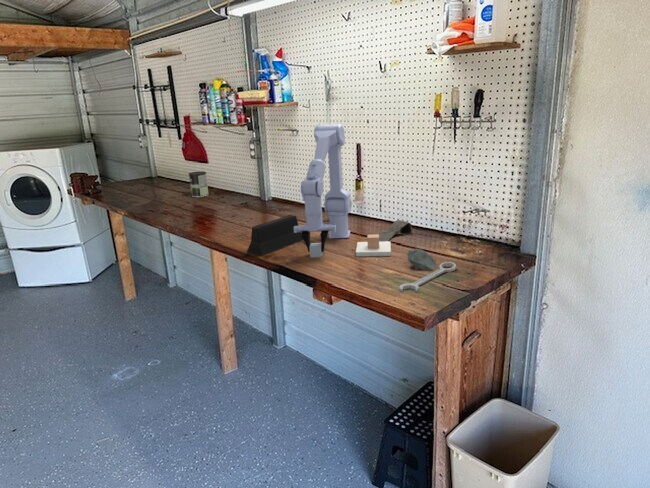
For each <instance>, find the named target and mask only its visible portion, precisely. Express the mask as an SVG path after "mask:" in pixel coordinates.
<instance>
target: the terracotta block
mask: <svg viewBox="0 0 650 488" xmlns="http://www.w3.org/2000/svg"><path fill="white" fill-rule="evenodd" d="M366 239H367V240H366V242H367V243H368V249H379V233H375V234H367V237H366Z"/></svg>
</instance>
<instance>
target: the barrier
mask: <svg viewBox="0 0 650 488" xmlns="http://www.w3.org/2000/svg"><path fill="white" fill-rule="evenodd" d="M294 226H300V225H299V222H298V218H297V216H296V215H292V214H288V215H285V216H282V217H279V218H276V219H272V220H270V221H267V222H263V223H260V224H257V225H254V226H252V227H251V235H250V236H251V237H250V238H251V239H250V244H249V246H248V247H247V250H246V253H247V254H251V255H256V256H259V257H263V256H266V255H269V254H271V253H273V252H276V251H279V250H281V249H285V248H286V247H290V246H292V245H294V244H298V243H300V242H304V240H303V238H302V236H301V232H297V233H294Z"/></svg>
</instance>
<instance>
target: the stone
mask: <svg viewBox="0 0 650 488" xmlns="http://www.w3.org/2000/svg"><path fill="white" fill-rule="evenodd" d="M407 260H408V262H409V263H410V264H411V265H412V266H413V267H414V268H415V269H416V270H423V271H425V270H426V271H436V269H437V263H436V261H435V259H434V258H433V257H432V256H431V255H430V254H428V253H427V252H426V251H424V250H423V249H419V248H414V249H411V250H408V253H407Z"/></svg>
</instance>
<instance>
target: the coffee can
mask: <svg viewBox="0 0 650 488" xmlns="http://www.w3.org/2000/svg"><path fill="white" fill-rule="evenodd" d="M188 178H189V185H190V191H191V192H190V193H191V197H192V198H203V197H204V196H205V197H208V196H209V194H210V193H209V187H208V180H207V172H206V171H192V172H188ZM205 197H204V198H205Z"/></svg>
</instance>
